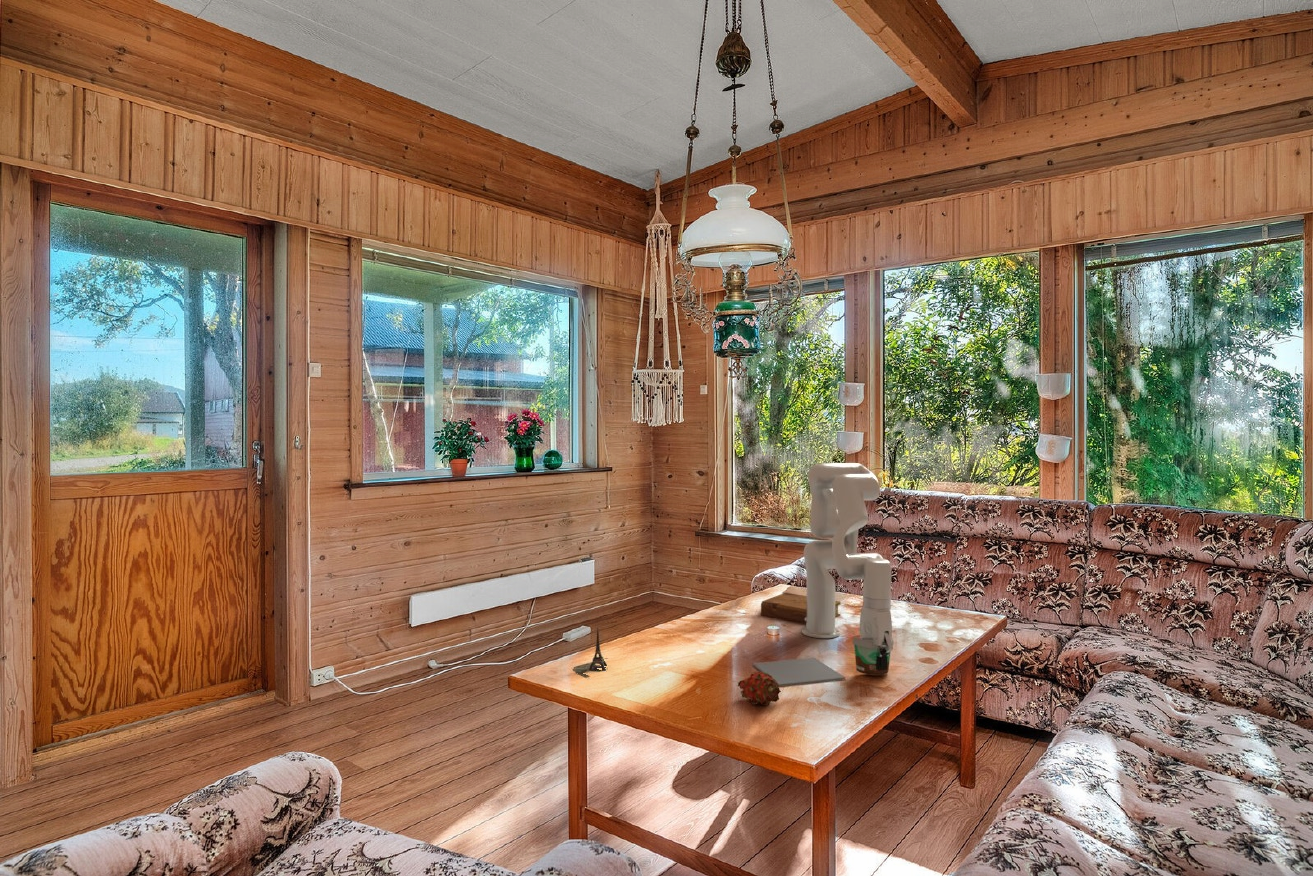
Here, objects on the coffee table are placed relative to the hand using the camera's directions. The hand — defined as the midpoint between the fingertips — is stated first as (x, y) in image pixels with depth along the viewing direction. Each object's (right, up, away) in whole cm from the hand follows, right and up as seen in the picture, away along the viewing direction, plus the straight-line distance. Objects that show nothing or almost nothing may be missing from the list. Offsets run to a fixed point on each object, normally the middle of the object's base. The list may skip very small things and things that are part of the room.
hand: (875, 665), depth 208 cm
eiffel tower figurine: (-79, -4, +7) cm, 80 cm away
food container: (0, -2, -1) cm, 2 cm away
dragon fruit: (-36, -4, -20) cm, 41 cm away
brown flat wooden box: (-9, -2, +65) cm, 65 cm away
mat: (-22, -3, +3) cm, 22 cm away
